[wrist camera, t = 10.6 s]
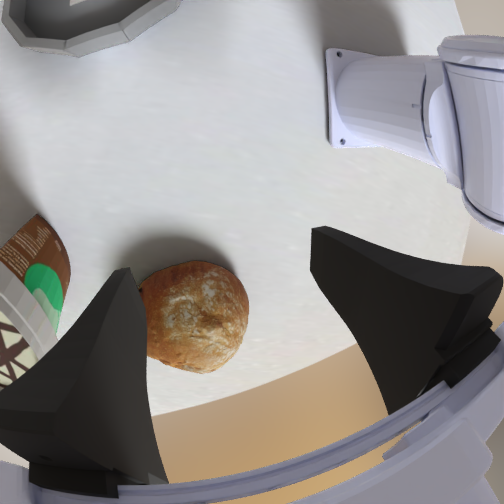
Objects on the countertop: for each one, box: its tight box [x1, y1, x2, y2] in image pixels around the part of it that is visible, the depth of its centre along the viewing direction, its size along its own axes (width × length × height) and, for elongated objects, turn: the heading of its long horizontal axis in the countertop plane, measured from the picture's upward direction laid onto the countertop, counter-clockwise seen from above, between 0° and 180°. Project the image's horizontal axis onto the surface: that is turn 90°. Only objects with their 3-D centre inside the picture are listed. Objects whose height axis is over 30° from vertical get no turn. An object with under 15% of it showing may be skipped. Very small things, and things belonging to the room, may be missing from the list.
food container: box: [0, 214, 71, 391], centre depth 14 cm, size 12×6×10 cm, turn 138°
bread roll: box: [138, 261, 249, 374], centre depth 22 cm, size 10×10×8 cm
